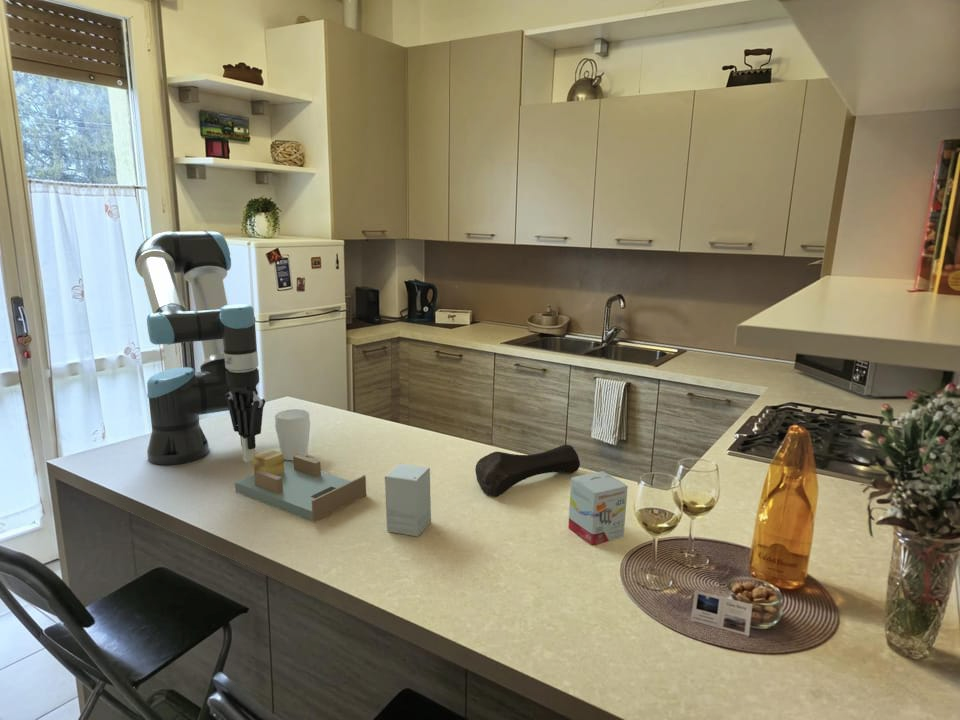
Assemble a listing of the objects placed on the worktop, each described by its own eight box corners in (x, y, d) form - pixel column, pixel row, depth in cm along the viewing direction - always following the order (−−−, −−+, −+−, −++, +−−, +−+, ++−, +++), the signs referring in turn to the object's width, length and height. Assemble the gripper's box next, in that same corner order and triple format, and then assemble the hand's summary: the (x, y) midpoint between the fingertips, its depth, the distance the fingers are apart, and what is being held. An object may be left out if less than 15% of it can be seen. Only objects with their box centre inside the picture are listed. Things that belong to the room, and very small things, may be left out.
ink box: (592, 546, 126) (594, 492, 123) (567, 528, 133) (569, 476, 131) (625, 537, 130) (629, 484, 127) (599, 519, 137) (602, 469, 134)
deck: (235, 491, 149) (233, 468, 148) (289, 469, 162) (287, 448, 161) (314, 522, 135) (312, 497, 134) (366, 495, 148) (365, 472, 147)
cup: (302, 463, 166) (299, 420, 163) (271, 461, 168) (268, 418, 165) (317, 451, 175) (315, 410, 172) (287, 449, 176) (285, 408, 174)
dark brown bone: (483, 507, 147) (572, 492, 163) (500, 477, 142) (590, 464, 158) (464, 472, 154) (550, 461, 170) (479, 442, 149) (567, 434, 164)
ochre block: (254, 474, 153) (252, 455, 152) (271, 467, 157) (269, 449, 156) (267, 479, 151) (266, 459, 149) (284, 472, 155) (283, 453, 154)
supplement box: (432, 521, 136) (431, 467, 133) (417, 538, 129) (416, 480, 126) (401, 516, 138) (399, 462, 135) (385, 531, 131) (383, 475, 128)
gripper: (211, 368, 153) (220, 459, 158) (245, 375, 146) (253, 470, 151) (238, 362, 159) (245, 450, 164) (272, 369, 152) (278, 460, 157)
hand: (249, 459), depth 158 cm, fingers closed
